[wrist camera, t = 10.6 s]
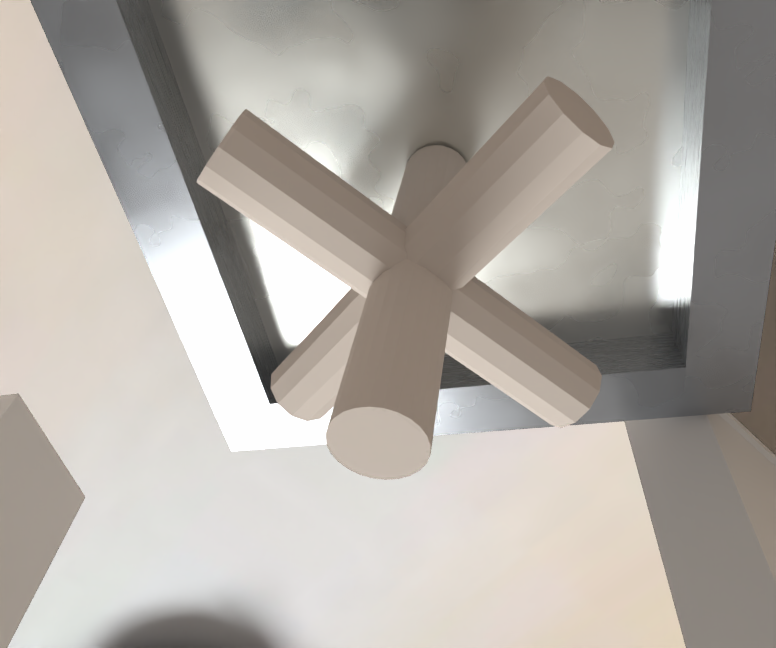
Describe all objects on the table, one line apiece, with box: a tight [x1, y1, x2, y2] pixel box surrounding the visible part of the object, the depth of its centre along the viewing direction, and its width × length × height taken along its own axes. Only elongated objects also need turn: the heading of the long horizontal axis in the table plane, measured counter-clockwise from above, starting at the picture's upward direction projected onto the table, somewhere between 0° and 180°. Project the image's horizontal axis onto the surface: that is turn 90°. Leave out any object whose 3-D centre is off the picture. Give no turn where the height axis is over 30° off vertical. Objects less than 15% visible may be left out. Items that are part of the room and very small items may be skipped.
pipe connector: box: [197, 76, 615, 480], centre depth 16 cm, size 10×10×10 cm
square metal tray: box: [30, 0, 776, 451], centre depth 19 cm, size 17×17×2 cm
